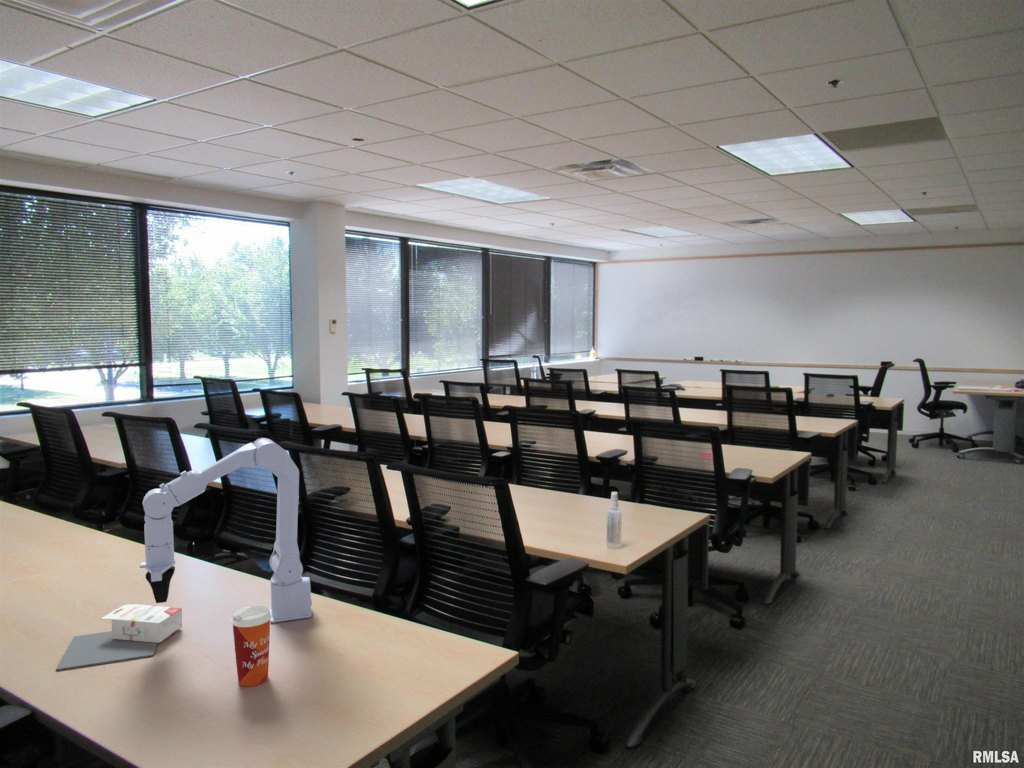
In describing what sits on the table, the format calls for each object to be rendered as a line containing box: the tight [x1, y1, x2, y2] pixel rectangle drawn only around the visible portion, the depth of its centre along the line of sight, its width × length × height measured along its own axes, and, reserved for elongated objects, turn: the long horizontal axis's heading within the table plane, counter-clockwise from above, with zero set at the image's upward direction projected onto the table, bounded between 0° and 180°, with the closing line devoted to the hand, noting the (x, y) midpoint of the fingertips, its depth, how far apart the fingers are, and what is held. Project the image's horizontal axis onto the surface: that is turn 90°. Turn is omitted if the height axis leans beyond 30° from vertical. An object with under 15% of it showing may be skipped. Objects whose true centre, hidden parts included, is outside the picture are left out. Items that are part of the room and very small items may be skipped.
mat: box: [55, 630, 158, 672], centre depth 151 cm, size 18×16×1 cm
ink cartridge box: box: [100, 603, 183, 644], centre depth 156 cm, size 9×5×15 cm
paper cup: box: [230, 605, 272, 688], centre depth 136 cm, size 8×8×14 cm
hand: (161, 601), depth 153 cm, fingers closed
